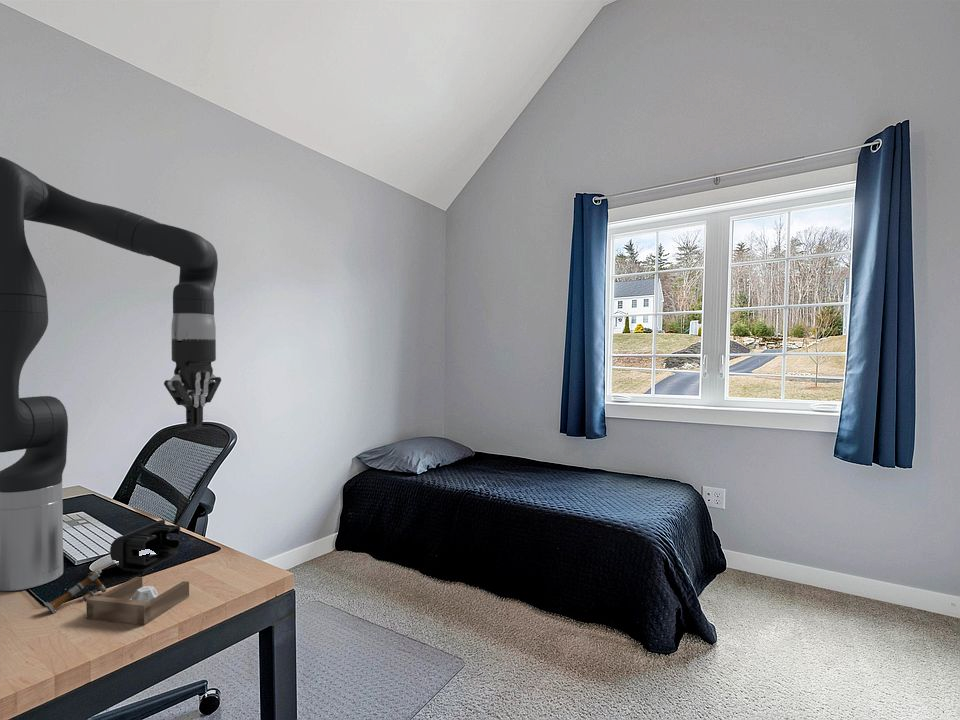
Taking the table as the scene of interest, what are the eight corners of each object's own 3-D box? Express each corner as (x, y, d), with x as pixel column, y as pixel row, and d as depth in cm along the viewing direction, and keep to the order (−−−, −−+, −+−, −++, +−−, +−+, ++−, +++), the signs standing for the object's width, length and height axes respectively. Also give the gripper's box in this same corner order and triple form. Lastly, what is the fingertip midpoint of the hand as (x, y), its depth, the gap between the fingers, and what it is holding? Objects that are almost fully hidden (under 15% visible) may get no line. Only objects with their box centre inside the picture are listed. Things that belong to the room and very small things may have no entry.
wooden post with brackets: (113, 587, 88) (101, 567, 86) (62, 625, 81) (47, 605, 80) (108, 585, 88) (96, 565, 87) (57, 622, 82) (43, 602, 81)
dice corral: (86, 618, 79) (86, 599, 79) (136, 590, 88) (136, 573, 88) (144, 625, 77) (144, 605, 77) (189, 596, 86) (189, 578, 86)
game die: (135, 603, 84) (135, 585, 84) (161, 600, 85) (161, 582, 85) (128, 614, 80) (127, 595, 80) (155, 610, 82) (154, 591, 82)
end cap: (152, 550, 106) (152, 518, 106) (182, 553, 105) (181, 520, 104) (109, 571, 96) (108, 535, 96) (141, 574, 95) (141, 538, 95)
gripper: (201, 338, 106) (201, 421, 106) (149, 336, 93) (150, 431, 93) (233, 338, 104) (234, 422, 105) (185, 336, 91) (186, 432, 92)
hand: (194, 426), depth 99 cm, fingers closed
